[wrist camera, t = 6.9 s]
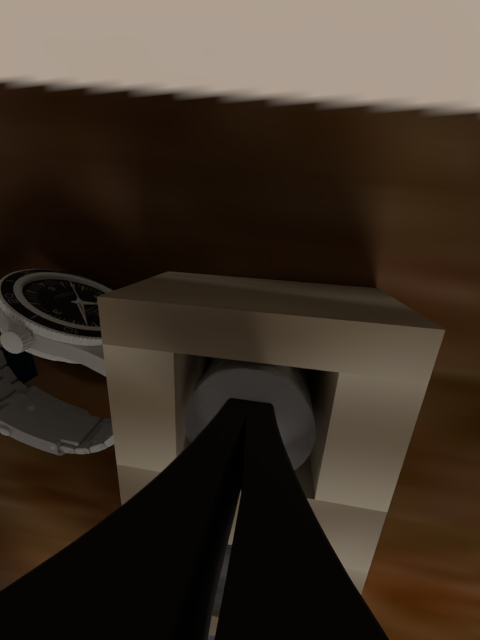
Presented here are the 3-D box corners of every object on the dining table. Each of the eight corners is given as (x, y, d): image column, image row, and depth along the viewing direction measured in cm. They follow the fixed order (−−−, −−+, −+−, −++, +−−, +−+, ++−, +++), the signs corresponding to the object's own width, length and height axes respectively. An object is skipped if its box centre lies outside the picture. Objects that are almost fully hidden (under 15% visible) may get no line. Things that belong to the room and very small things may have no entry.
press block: (321, 538, 16) (337, 666, 11) (175, 510, 17) (134, 615, 12) (377, 288, 11) (445, 330, 6) (168, 271, 12) (96, 296, 8)
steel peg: (298, 401, 13) (306, 490, 9) (217, 390, 14) (185, 469, 9) (309, 323, 12) (325, 380, 7) (220, 314, 12) (183, 362, 8)
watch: (-49, 263, 14) (159, 261, 13) (-2, 398, 16) (175, 407, 15) (-248, 284, 8) (78, 284, 7) (-132, 479, 11) (124, 503, 10)
